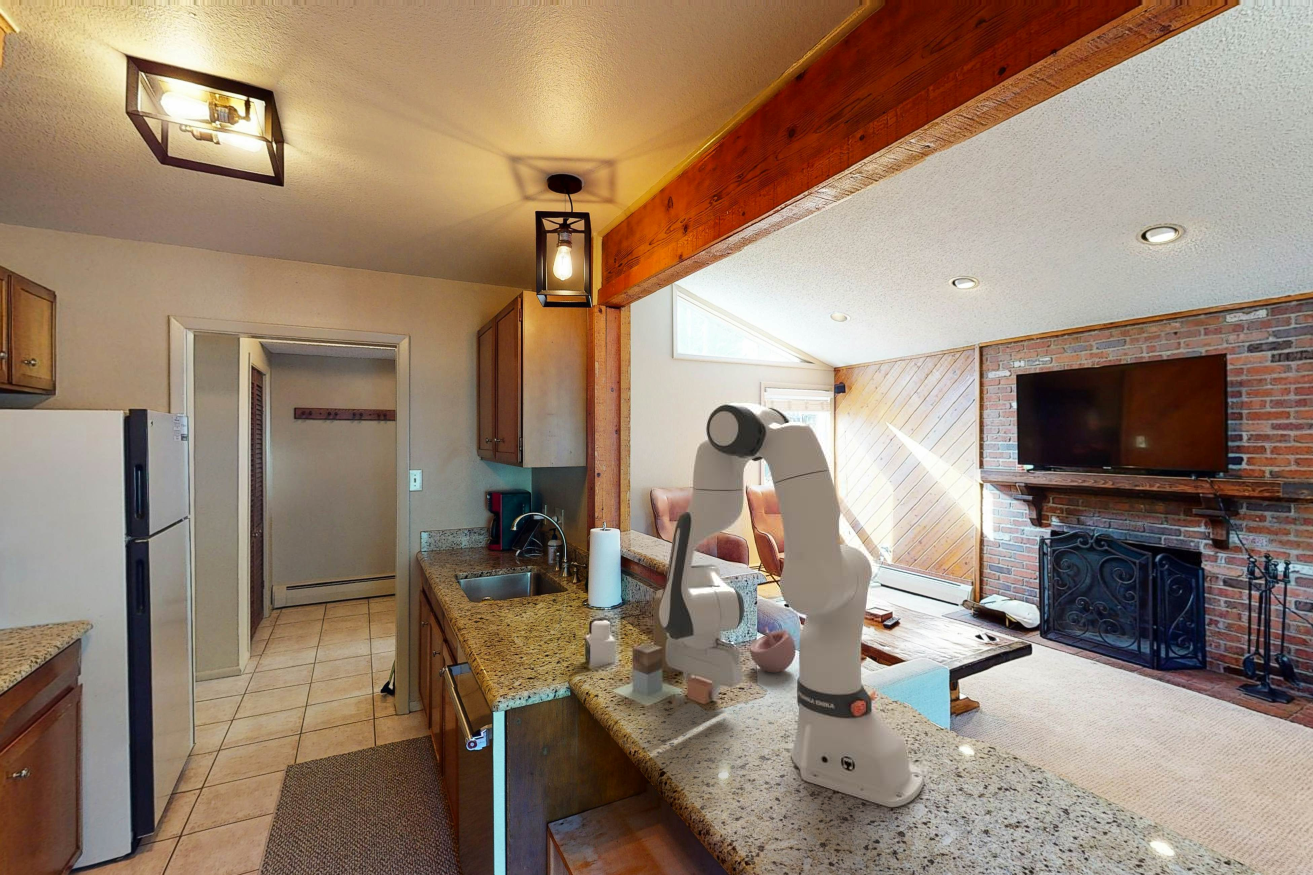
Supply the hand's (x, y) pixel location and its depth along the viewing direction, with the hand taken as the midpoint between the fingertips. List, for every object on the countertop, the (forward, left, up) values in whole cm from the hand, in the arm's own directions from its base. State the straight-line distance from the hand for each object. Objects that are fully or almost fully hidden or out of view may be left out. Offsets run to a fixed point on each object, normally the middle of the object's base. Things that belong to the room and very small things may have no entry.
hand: (702, 695), depth 128 cm
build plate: (+12, +6, -2) cm, 14 cm away
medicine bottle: (+36, 0, -2) cm, 36 cm away
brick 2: (+12, +6, 0) cm, 13 cm away
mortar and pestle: (-1, -28, -2) cm, 28 cm away
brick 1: (+12, +6, +5) cm, 14 cm away
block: (+19, -11, -2) cm, 22 cm away
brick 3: (0, 0, -2) cm, 2 cm away
